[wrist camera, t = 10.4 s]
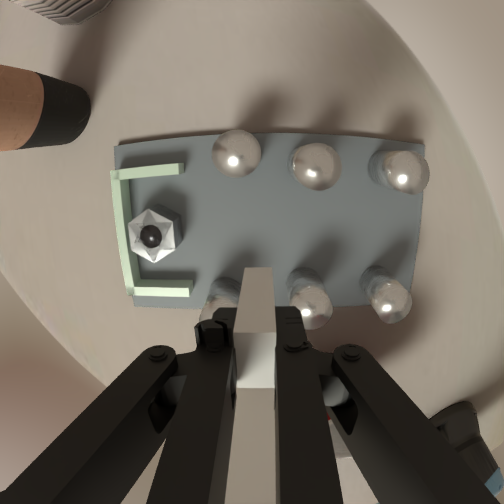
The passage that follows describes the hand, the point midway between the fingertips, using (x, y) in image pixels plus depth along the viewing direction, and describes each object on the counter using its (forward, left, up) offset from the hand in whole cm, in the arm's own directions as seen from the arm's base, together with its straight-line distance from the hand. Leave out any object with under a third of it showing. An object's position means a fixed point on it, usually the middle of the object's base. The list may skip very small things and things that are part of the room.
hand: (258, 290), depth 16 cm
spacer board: (+1, -2, -13) cm, 13 cm away
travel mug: (+15, +21, -14) cm, 29 cm away
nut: (+1, +10, -13) cm, 16 cm away
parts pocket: (+1, +10, -13) cm, 17 cm away
